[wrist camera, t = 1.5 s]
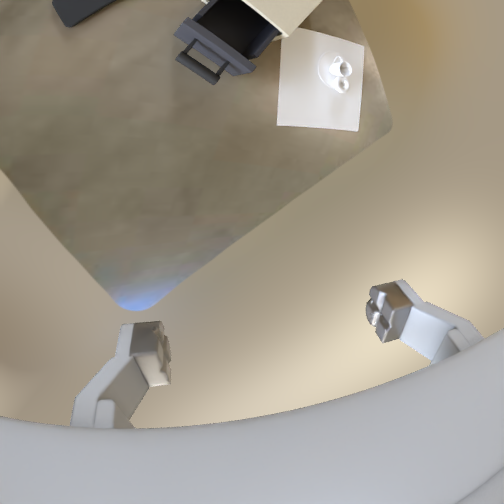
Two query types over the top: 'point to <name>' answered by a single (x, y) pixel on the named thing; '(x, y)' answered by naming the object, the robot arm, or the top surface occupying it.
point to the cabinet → (283, 13)
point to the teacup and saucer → (320, 81)
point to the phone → (77, 9)
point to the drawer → (225, 38)
